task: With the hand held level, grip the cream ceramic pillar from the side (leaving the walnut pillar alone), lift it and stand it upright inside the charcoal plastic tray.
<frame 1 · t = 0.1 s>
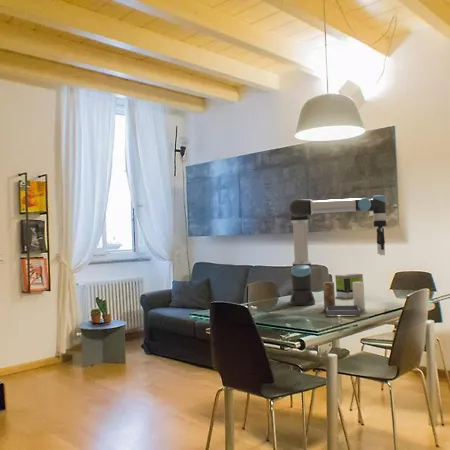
hand: (381, 254, 309), 28 cm above the table, tool pointing down, fingers open, 13 cm apart
cream pillar: (359, 309, 277), on the table
tea box: (350, 296, 328), on the table
walnut pillar: (329, 309, 282), on the table
tray: (342, 313, 265), on the table
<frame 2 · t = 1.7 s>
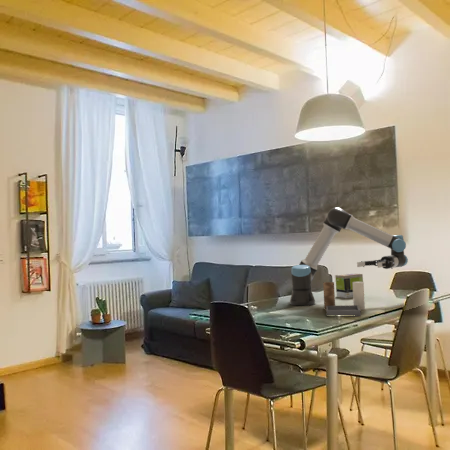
hand: (367, 264, 283), 24 cm above the table, tool horizontal, fingers open, 13 cm apart
nothing on the table moved.
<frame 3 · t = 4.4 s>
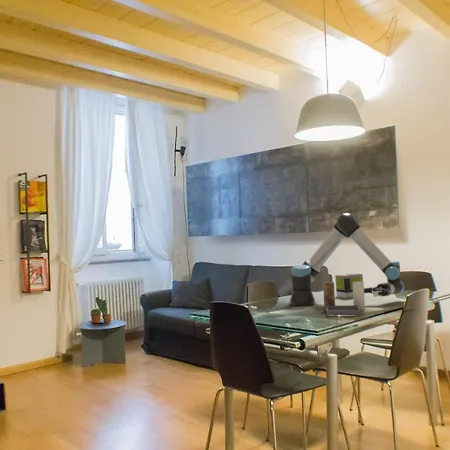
hand: (363, 293, 279), 8 cm above the table, tool horizontal, fingers open, 13 cm apart
nothing on the table moved.
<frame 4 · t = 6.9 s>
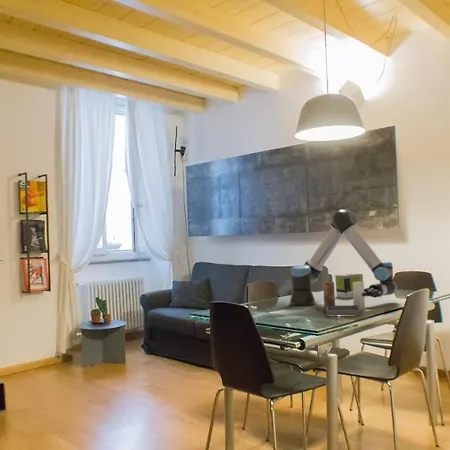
hand: (352, 294, 274), 9 cm above the table, tool horizontal, fingers closed on cream pillar, 6 cm apart
cream pillar: (359, 309, 277), on the table, touching gripper
everything else where it was.
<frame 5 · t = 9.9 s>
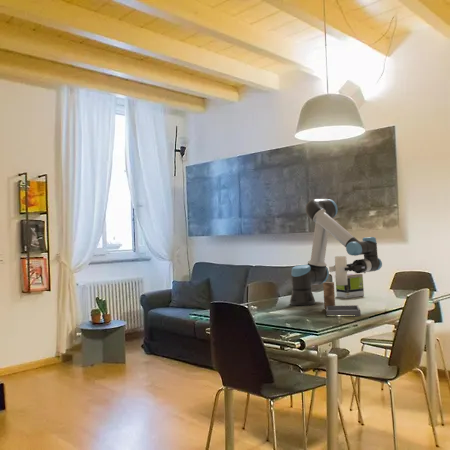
hand: (335, 269, 262), 24 cm above the table, tool horizontal, fingers closed on cream pillar, 6 cm apart
cream pillar: (341, 284, 265), point 15 cm above the table, touching gripper
everything else where it was.
when the fingers open (11 cm above the table, at t = 13.0 s): cream pillar drops 1 cm, resting on tray.
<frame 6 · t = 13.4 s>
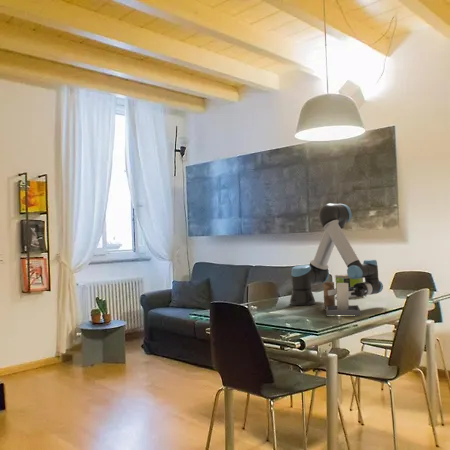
hand: (337, 293, 263), 11 cm above the table, tool horizontal, fingers open, 11 cm apart
cream pillar: (342, 311, 265), point 1 cm above the table, touching tray
everything else where it was.
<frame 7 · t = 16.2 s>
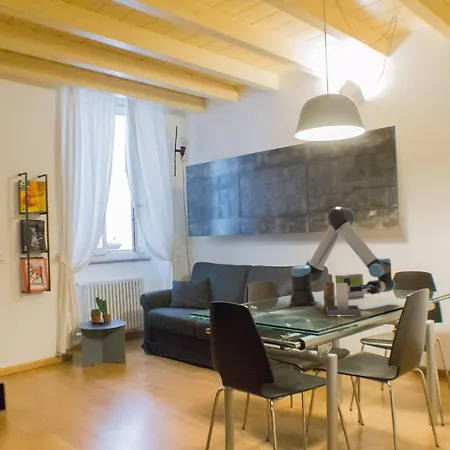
hand: (352, 291, 271), 11 cm above the table, tool horizontal, fingers open, 13 cm apart
nothing on the table moved.
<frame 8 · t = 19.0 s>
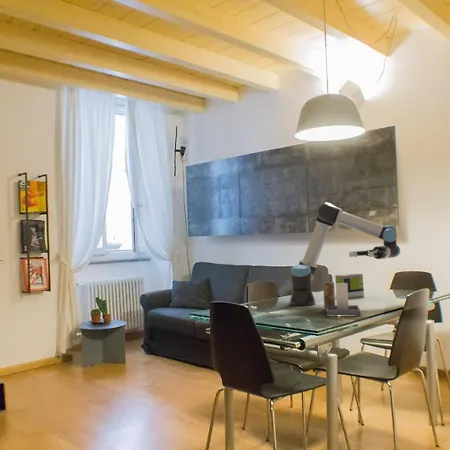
hand: (359, 254, 282), 30 cm above the table, tool horizontal, fingers open, 13 cm apart
nothing on the table moved.
at the end: cream pillar inside the target area on the tray (0.0 cm from its centre), point 1.0 cm above the tray's base; cream pillar tilted 0°; the gripper is holding nothing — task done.
